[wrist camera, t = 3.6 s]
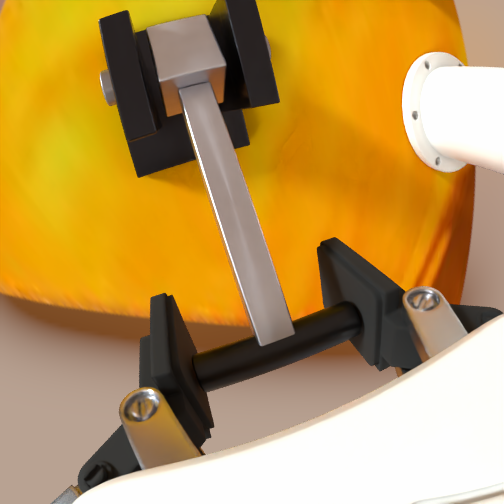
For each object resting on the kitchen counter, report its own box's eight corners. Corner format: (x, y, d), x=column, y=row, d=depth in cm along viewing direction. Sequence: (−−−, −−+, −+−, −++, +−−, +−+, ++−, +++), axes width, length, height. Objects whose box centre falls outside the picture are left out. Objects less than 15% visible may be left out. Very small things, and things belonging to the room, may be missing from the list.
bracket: (246, 143, 22) (334, 172, 11) (139, 175, 21) (111, 239, 10) (216, 18, 18) (275, -73, 6) (105, 47, 16) (47, -25, 5)
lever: (342, 330, 11) (374, 341, 8) (205, 380, 10) (204, 406, 8) (237, 46, 11) (243, 7, 9) (120, 75, 10) (106, 39, 8)
